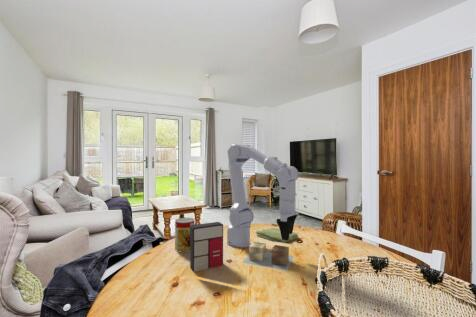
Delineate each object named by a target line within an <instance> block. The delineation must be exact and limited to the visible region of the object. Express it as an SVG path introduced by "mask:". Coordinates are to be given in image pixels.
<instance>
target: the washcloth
mask: <svg viewBox="0 0 476 317" xmlns="http://www.w3.org/2000/svg"><path fill="white" fill-rule="evenodd" d="M255 234H256V236H257V237H258V238H262V239H264V240H268V241H271V242H275V243H282V244H286V243H290V242H292V241H295V240H298V239H299V235H298V233H297V232H295V231H293V232H292V234H290V235H289V239H288V241H287V240H282V237H281V232H280V228H276V227H269V228H263V229H261V230H256V231H255Z"/></svg>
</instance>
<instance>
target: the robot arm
mask: <svg viewBox="0 0 476 317" xmlns="http://www.w3.org/2000/svg"><path fill="white" fill-rule="evenodd" d="M227 156H228V157H227V158H228V169H229V177H230V185H231V186H230V187H231V194H232V199H233V200H232V201H233V204H232V206H231V207H230V208H229V219H228V220H229V223H230V224H229V225H228V227H227V229H226V230H227V231H226V234H227V236H226V241H227V243H226V245H227V246H232V247H236V248H249V246H250V245H251V235H250V234H251V225H252V223H253V221H254V212H253V211H252V208H251V206H252V205H250V204H249V203H248V202H247V199H246V193H245V192H246V191H245V185H244V178H243V172H242V167H243V165H244V164H245V163H246V162H248V160H250V159H253V160H254V161H256V162H258V163H259V164H262V165H263V168H264V170H266V171H267V172H269V173H270V174H272V175H274V176H275V177H276V179H277V181H278V186H279V203H278V205H279V206H278V207H279V208H278V209H279V210H278V214H279V216H280V218H277V219H276V221H275V222H276V224H277V225H278V229H280V232H281V237H282V240H287V241H288V239H289V235H290V234H292V232H294V226H295V221H296V219H297V217H298V215H299V214H300V212H299V211H296V193H297V192H296V188H297V187H296V186H297V185H296V184H297V183H296V181H297V180H298V179H299V176H300V174H299V171H298V169H297V168H296V167H295V166H293V165H289V166H288V163H286V162H283V161H281V160H279V159H278V157H277V156H266V155H265V154H263V153H262V152H261V151H259V150H257V149H256V148H255V147H254V146H251V145H249V144H237V143H233V144H231V145H230V146H229V148H228V150H227Z"/></svg>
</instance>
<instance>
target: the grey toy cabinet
mask: <svg viewBox="0 0 476 317" xmlns="http://www.w3.org/2000/svg"><path fill="white" fill-rule="evenodd" d="M189 252H190V253H189V254H190V255H189V258H190V260H189V263H190V264H189V267H190V270H191V271H192V272H195V273H196V272H198V271H203V270H208V269H213V268H218V267H221V266H224V224H223V223H222V222H220V221H214V222H208V223H207V222H206V223H198V224H194V225H191V226H190V251H189Z"/></svg>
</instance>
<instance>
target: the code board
mask: <svg viewBox="0 0 476 317" xmlns="http://www.w3.org/2000/svg"><path fill="white" fill-rule="evenodd" d="M293 259H294V255H290V254H289V261H288V263H287V265H286V266H280V265H275V264H272V251H271V252H270V251H266V258H265V259H264V260H263V262H259V261H253V260H249V255H248V256H247V257H246V258H245V259H244V260H242V263H244V264H249V265H254V266H259V267H265V268H269V269H275V270H280V271H285V272H288V270H289V268H290V265H291V263H292V261H293Z"/></svg>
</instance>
